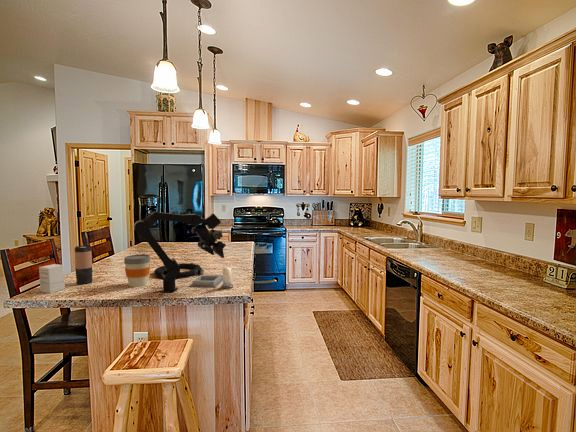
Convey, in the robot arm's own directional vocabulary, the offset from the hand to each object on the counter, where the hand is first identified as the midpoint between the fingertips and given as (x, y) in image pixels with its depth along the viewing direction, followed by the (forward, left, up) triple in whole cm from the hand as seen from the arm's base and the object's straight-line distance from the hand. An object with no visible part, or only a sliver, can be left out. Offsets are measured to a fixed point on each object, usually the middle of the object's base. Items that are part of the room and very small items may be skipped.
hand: (218, 256), depth 172 cm
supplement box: (-24, +78, -15) cm, 82 cm away
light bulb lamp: (-9, -7, -14) cm, 19 cm away
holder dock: (+1, +6, -14) cm, 15 cm away
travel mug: (-10, +72, -15) cm, 74 cm away
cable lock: (+16, +30, -15) cm, 37 cm away
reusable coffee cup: (-9, +42, -15) cm, 45 cm away
